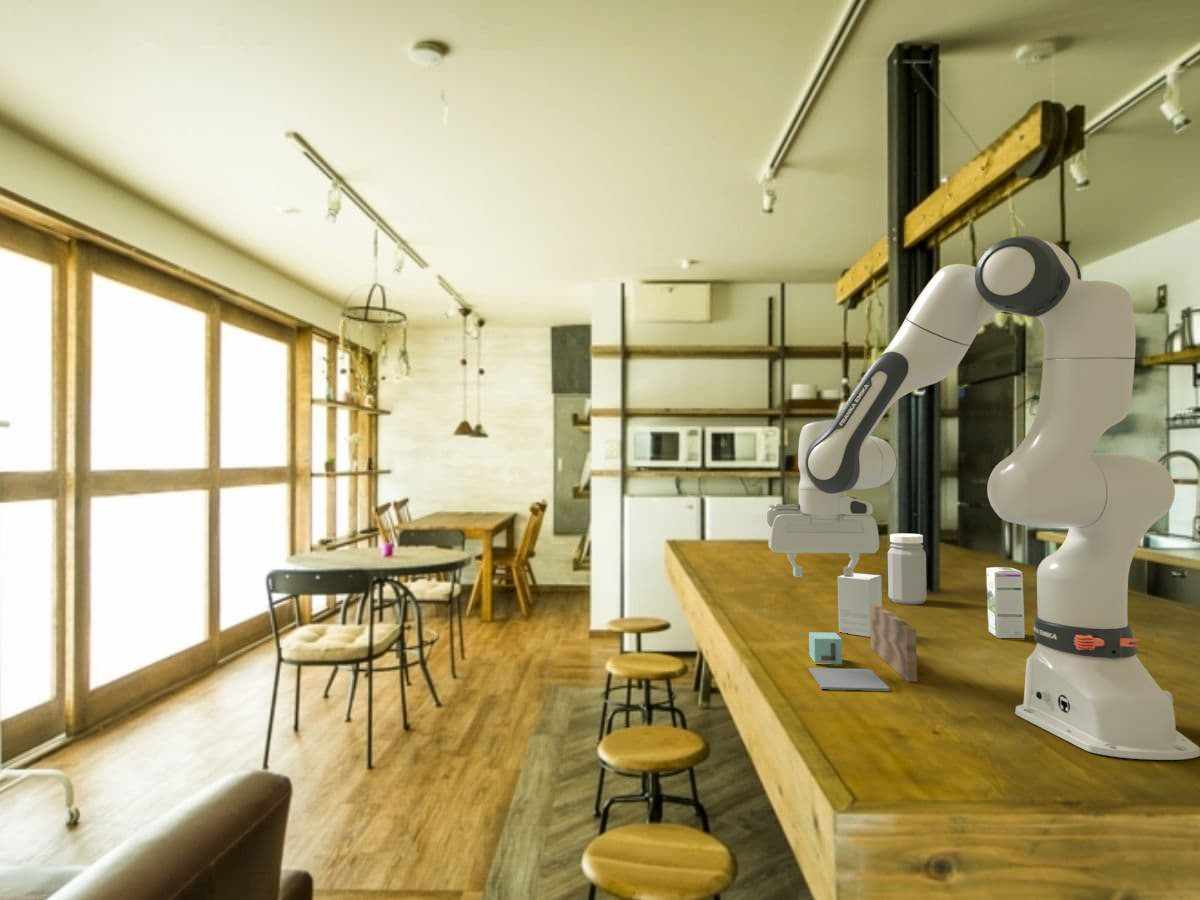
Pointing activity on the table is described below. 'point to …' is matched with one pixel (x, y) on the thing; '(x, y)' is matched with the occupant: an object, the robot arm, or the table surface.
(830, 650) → the letter block
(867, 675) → the slate pad
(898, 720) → the table surface
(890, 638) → the walnut screen
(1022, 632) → the syrup box
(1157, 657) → the table surface
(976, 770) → the table surface
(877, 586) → the supplement box
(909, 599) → the jar
